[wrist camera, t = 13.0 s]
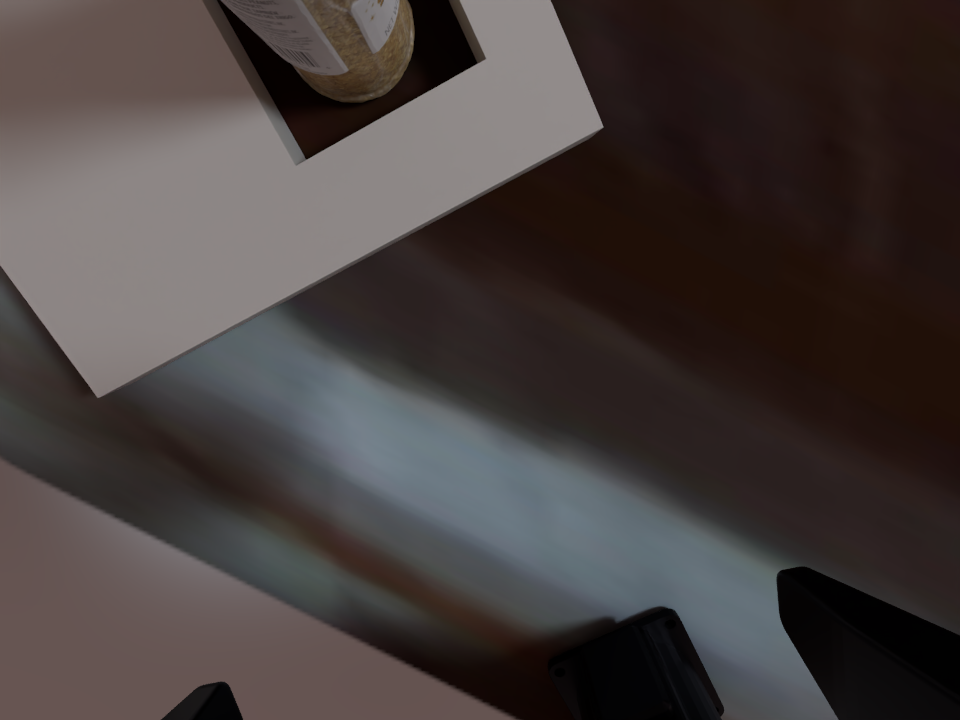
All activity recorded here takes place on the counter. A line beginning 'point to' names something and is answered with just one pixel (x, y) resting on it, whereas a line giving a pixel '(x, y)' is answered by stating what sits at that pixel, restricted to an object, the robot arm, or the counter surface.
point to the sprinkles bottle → (336, 41)
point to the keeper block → (233, 168)
